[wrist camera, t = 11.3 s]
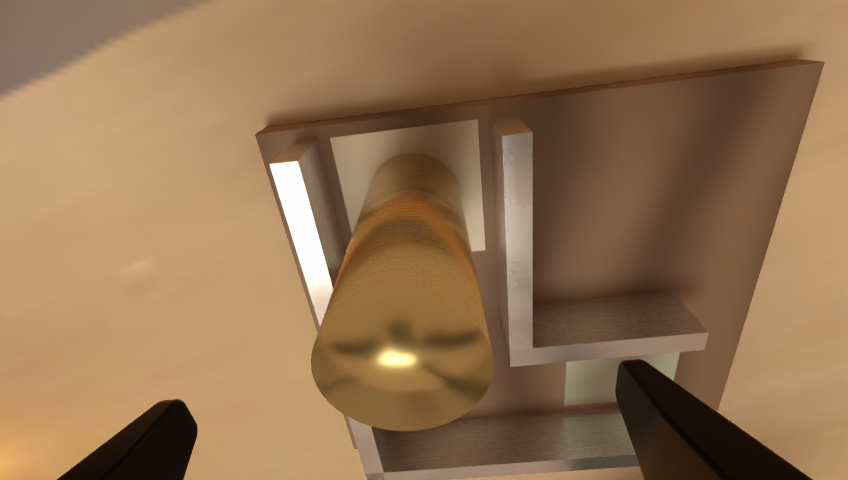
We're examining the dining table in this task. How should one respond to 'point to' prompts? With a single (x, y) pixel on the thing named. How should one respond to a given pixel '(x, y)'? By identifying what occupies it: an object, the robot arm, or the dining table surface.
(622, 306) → the steel rails
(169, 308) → the dining table surface
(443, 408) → the brass peg
